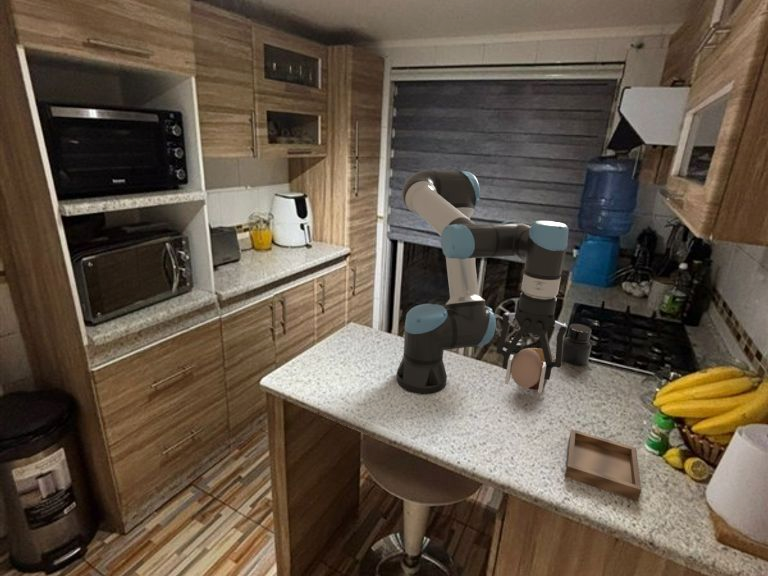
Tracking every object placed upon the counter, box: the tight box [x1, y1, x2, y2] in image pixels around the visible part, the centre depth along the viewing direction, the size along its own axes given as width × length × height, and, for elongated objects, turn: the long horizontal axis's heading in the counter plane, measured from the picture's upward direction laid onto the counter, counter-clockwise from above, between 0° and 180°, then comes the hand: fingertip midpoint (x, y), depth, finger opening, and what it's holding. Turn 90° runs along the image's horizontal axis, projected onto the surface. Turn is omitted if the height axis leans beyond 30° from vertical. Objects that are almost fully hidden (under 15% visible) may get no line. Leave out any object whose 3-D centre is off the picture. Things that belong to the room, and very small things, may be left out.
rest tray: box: [564, 428, 642, 502], centre depth 94 cm, size 14×14×3 cm
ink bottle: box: [562, 323, 592, 367], centre depth 140 cm, size 10×9×12 cm
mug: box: [528, 347, 555, 391], centre depth 123 cm, size 12×9×10 cm
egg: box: [511, 347, 542, 389], centre depth 97 cm, size 7×7×10 cm
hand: (523, 385), depth 98 cm, fingers closed on egg, 7 cm apart
